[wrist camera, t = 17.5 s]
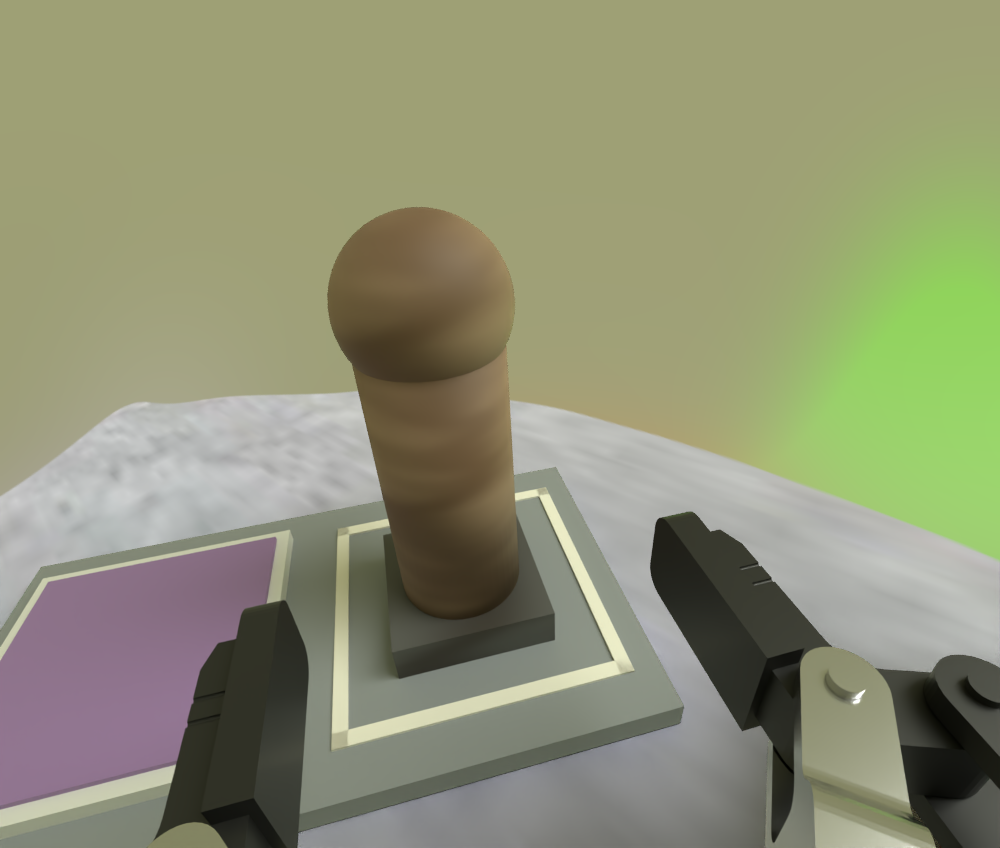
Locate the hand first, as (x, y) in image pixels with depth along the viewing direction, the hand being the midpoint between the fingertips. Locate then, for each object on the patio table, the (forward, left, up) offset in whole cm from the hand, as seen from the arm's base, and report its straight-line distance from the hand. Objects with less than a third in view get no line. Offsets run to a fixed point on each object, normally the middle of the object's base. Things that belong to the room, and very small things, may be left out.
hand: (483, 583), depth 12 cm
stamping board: (-6, +7, -9) cm, 13 cm away
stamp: (0, +6, -8) cm, 10 cm away
